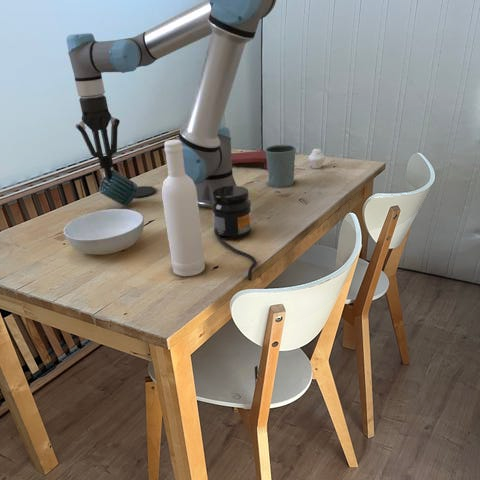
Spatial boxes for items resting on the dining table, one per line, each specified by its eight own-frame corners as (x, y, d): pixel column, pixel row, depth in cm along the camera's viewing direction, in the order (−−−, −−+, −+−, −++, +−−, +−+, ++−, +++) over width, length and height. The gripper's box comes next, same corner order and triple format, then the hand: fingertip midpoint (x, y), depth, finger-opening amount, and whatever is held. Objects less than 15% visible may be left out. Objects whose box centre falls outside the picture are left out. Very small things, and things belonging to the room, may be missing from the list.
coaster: (160, 193, 167) (159, 192, 167) (130, 200, 163) (129, 198, 163) (149, 185, 175) (149, 184, 175) (120, 191, 171) (120, 190, 171)
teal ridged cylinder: (119, 204, 162) (130, 181, 161) (128, 208, 155) (140, 185, 155) (95, 190, 156) (107, 167, 155) (104, 194, 150) (116, 170, 149)
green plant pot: (301, 183, 168) (301, 148, 161) (278, 190, 163) (277, 153, 157) (283, 177, 175) (282, 142, 168) (260, 183, 171) (259, 148, 164)
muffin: (306, 165, 185) (307, 147, 182) (322, 164, 186) (323, 145, 182) (310, 170, 180) (310, 151, 176) (326, 169, 181) (327, 149, 177)
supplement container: (260, 232, 135) (258, 189, 128) (233, 244, 129) (230, 200, 122) (233, 223, 141) (230, 182, 134) (206, 234, 135) (202, 192, 128)
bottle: (173, 263, 121) (155, 138, 105) (204, 260, 121) (191, 135, 105) (172, 278, 114) (152, 147, 98) (205, 275, 115) (191, 144, 98)
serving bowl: (82, 233, 141) (77, 210, 137) (153, 230, 140) (150, 207, 136) (58, 265, 124) (51, 240, 120) (139, 262, 123) (134, 237, 119)
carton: (212, 173, 195) (266, 170, 182) (210, 161, 193) (264, 157, 180) (228, 165, 204) (281, 161, 191) (226, 153, 202) (279, 149, 189)
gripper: (110, 91, 144) (125, 171, 157) (66, 97, 139) (85, 179, 152) (117, 94, 139) (132, 176, 152) (72, 100, 134) (91, 185, 147)
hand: (109, 177), depth 152 cm, fingers closed
